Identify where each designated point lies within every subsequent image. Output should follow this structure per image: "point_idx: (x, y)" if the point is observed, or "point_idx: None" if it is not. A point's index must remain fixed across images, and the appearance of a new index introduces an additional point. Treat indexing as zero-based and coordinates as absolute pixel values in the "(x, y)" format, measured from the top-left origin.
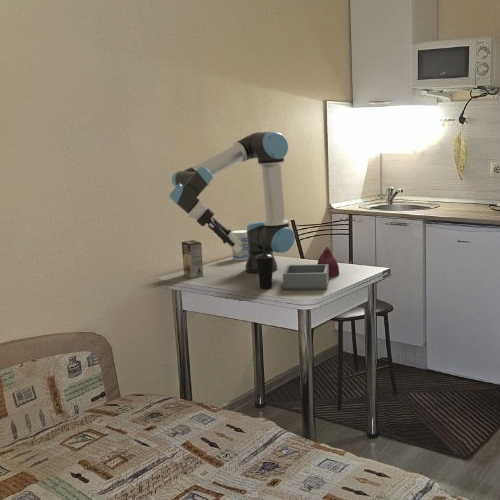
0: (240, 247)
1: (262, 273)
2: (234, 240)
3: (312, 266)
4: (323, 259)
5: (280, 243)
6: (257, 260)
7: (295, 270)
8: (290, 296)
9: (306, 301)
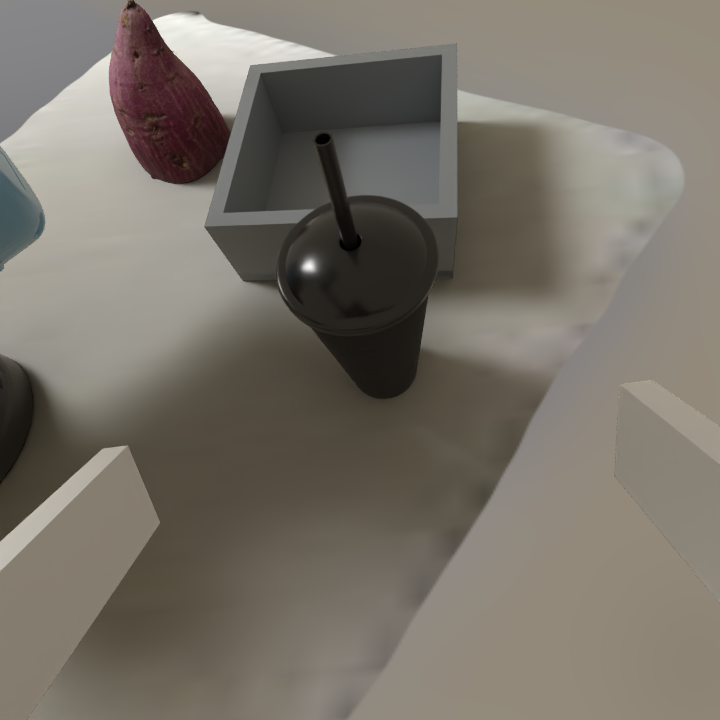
0: (666, 400)
1: (420, 337)
2: (75, 573)
3: (251, 125)
4: (173, 81)
5: (6, 171)
6: (401, 322)
7: (242, 208)
8: (579, 235)
9: (674, 164)
